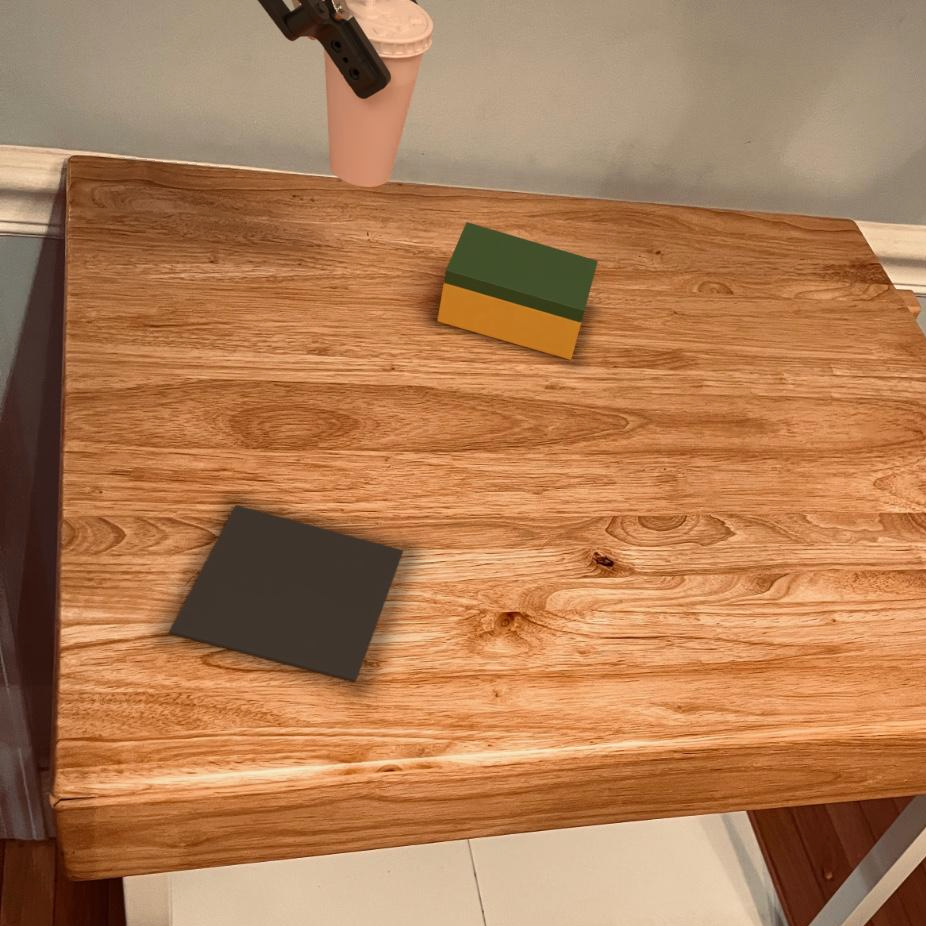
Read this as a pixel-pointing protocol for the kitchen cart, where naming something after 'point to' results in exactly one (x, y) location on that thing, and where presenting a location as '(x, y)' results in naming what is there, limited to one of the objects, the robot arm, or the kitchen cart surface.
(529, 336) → the scrubber
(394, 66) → the smoothie
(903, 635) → the kitchen cart surface
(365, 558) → the cloth
